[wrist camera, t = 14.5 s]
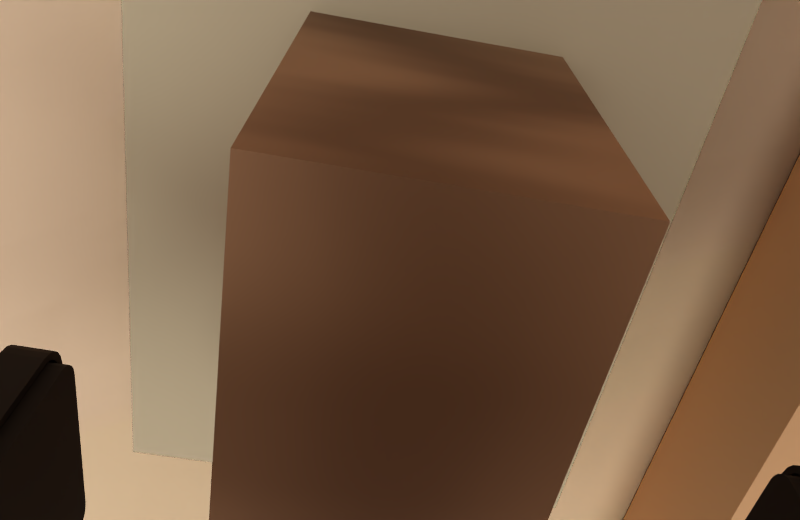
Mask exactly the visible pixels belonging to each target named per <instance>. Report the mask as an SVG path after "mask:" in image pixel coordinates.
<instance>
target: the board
mask: <svg viewBox="0 0 800 520" xmlns="http://www.w3.org/2000/svg"><path fill="white" fill-rule="evenodd" d="M761 2H762V0H121V11H122V49H123V87H124V126H125V164H126V202H127V240H128V278H129V317H130V355H131V393H132V431H133V452H137V453H144V454H152V455H159V456H167V457H174V458H182V459H189V460H197V461H204V462H213V444H214V427H215V409H216V392H217V375H218V357H219V340H220V322H221V305H222V287H223V270H224V253H225V235H226V218H227V200H228V183H229V165H230V148H231V146H232V145H233V143H234V141H235V139H236V138H237V136H238V134H239V133H240V131H241V129H242V128H243V126H244V124H245V122H246V121H247V119H248V117H249V116H250V114H251V112H252V110H253V109H254V107H255V105H256V104H257V102H258V100H259V98H260V97H261V95H262V93H263V92H264V90H265V88H266V86H267V85H268V83H269V81H270V80H271V78H272V76H273V75H274V73H275V71H276V69H277V68H278V66H279V64H280V63H281V61H282V59H283V57H284V56H285V54H286V52H287V51H288V49H289V47H290V45H291V44H292V42H293V40H294V39H295V37H296V35H297V34H298V32H299V30H300V28H301V27H302V25H303V23H304V22H305V20H306V18H307V16H308V15H309V13H310V11H312V12H318V13H323V14H329V15H334V16H340V17H345V18H351V19H356V20H362V21H367V22H373V23H378V24H384V25H389V26H395V27H400V28H406V29H411V30H417V31H422V32H428V33H433V34H439V35H444V36H450V37H455V38H461V39H466V40H471V41H477V42H482V43H488V44H493V45H499V46H504V47H510V48H515V49H521V50H526V51H532V52H537V53H543V54H548V55H554V56H559V57H563V58H564V60H565V61H566V63H567V64H568V66H569V67H570V69H571V71H572V72H573V74H574V75H575V77H576V78H577V80H578V81H579V83H580V84H581V86H582V87H583V89H584V90H585V92H586V93H587V95H588V97H589V98H590V100H591V101H592V103H593V104H594V106H595V107H596V109H597V110H598V112H599V113H600V115H601V116H602V118H603V119H604V121H605V123H606V124H607V126H608V127H609V129H610V130H611V132H612V133H613V135H614V136H615V138H616V139H617V141H618V142H619V144H620V145H621V147H622V148H623V150H624V152H625V153H626V155H627V156H628V158H629V159H630V161H631V162H632V164H633V165H634V167H635V168H636V170H637V171H638V173H639V174H640V176H641V178H642V179H643V181H644V182H645V184H646V185H647V187H648V188H649V190H650V191H651V193H652V194H653V196H654V197H655V199H656V200H657V202H658V204H659V205H660V207H661V208H662V210H663V211H664V213H665V214H666V216H667V217H668V219H669V220H670V223H669V226H668V228H667V231H666V233H665V236H664V238H663V240H662V243H661V245H660V248H659V250H658V253H657V255H656V257H655V260H654V262H653V265H652V267H651V270H650V272H649V274H648V277H647V279H646V282H645V284H644V287H643V289H642V292H641V294H640V296H639V299H638V301H637V304H636V306H635V309H634V311H633V313H632V316H631V318H630V321H629V323H628V326H627V328H626V330H625V333H624V335H623V338H622V340H621V343H620V345H619V348H618V350H617V352H616V355H615V357H614V360H613V362H612V365H611V367H610V369H609V372H608V374H607V377H606V379H605V382H604V384H603V386H602V389H601V391H600V394H599V396H598V399H597V401H596V403H595V406H594V408H593V411H592V413H591V416H590V418H589V421H588V423H587V425H586V428H585V430H584V433H583V435H582V438H581V440H580V442H579V445H578V447H577V450H576V452H575V455H574V457H573V459H572V462H571V464H570V467H569V469H568V472H567V474H566V477H565V479H564V481H563V484H562V486H561V489H560V491H559V494H558V496H557V498H556V501H555V503H554V506H553V508H555V507H556V505H557V503H558V500H559V498H560V495H561V493H562V490H563V488H564V485H565V483H566V480H567V478H568V476H569V473H570V471H571V468H572V466H573V463H574V461H575V458H576V456H577V454H578V451H579V449H580V446H581V444H582V441H583V439H584V436H585V434H586V431H587V429H588V427H589V424H590V422H591V419H592V417H593V414H594V412H595V409H596V407H597V404H598V402H599V400H600V397H601V395H602V392H603V390H604V387H605V385H606V382H607V380H608V377H609V375H610V373H611V370H612V368H613V365H614V363H615V360H616V358H617V355H618V353H619V351H620V348H621V346H622V343H623V341H624V338H625V336H626V333H627V331H628V328H629V326H630V324H631V321H632V319H633V316H634V314H635V311H636V309H637V306H638V304H639V301H640V299H641V297H642V294H643V292H644V289H645V287H646V284H647V282H648V279H649V277H650V274H651V272H652V270H653V267H654V265H655V262H656V260H657V257H658V255H659V252H660V250H661V248H662V245H663V243H664V240H665V238H666V235H667V233H668V230H669V228H670V225H671V223H672V221H673V218H674V216H675V213H676V211H677V208H678V206H679V203H680V201H681V198H682V196H683V194H684V191H685V189H686V186H687V184H688V181H689V179H690V176H691V174H692V171H693V169H694V167H695V164H696V162H697V159H698V157H699V154H700V152H701V149H702V147H703V145H704V142H705V140H706V137H707V135H708V132H709V130H710V127H711V125H712V122H713V120H714V118H715V115H716V113H717V110H718V108H719V105H720V103H721V100H722V98H723V95H724V93H725V91H726V88H727V86H728V83H729V81H730V78H731V76H732V73H733V71H734V68H735V66H736V64H737V61H738V59H739V56H740V54H741V51H742V49H743V46H744V44H745V42H746V39H747V37H748V34H749V32H750V29H751V27H752V24H753V22H754V19H755V17H756V15H757V12H758V10H759V7H760V5H761Z"/></svg>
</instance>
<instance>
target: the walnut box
mask: <svg viewBox="0 0 800 520" xmlns="http://www.w3.org/2000/svg"><path fill="white" fill-rule="evenodd" d="M669 223H670V220H669V219H668V217H667V216H666V214H665V213H664V211H663V210H662V208H661V207H660V205H659V204H658V202H657V200H656V199H655V197H654V196H653V194H652V193H651V191H650V190H649V188H648V187H647V185H646V184H645V182H644V181H643V179H642V178H641V176H640V174H639V173H638V171H637V170H636V168H635V167H634V165H633V164H632V162H631V161H630V159H629V158H628V156H627V155H626V153H625V152H624V150H623V148H622V147H621V145H620V144H619V142H618V141H617V139H616V138H615V136H614V135H613V133H612V132H611V130H610V129H609V127H608V126H607V124H606V123H605V121H604V119H603V118H602V116H601V115H600V113H599V112H598V110H597V109H596V107H595V106H594V104H593V103H592V101H591V100H590V98H589V97H588V95H587V93H586V92H585V90H584V89H583V87H582V86H581V84H580V83H579V81H578V80H577V78H576V77H575V75H574V74H573V72H572V71H571V69H570V67H569V66H568V64H567V63H566V61H565V60H564V58H563V57H559V56H554V55H548V54H543V53H537V52H532V51H526V50H521V49H515V48H510V47H504V46H499V45H493V44H488V43H482V42H477V41H471V40H466V39H461V38H455V37H450V36H444V35H439V34H433V33H428V32H422V31H417V30H411V29H406V28H400V27H395V26H389V25H384V24H378V23H373V22H367V21H362V20H356V19H351V18H345V17H340V16H334V15H329V14H323V13H318V12H312V11H310V13H309V15H308V16H307V18H306V20H305V22H304V23H303V25H302V27H301V28H300V30H299V32H298V34H297V35H296V37H295V39H294V40H293V42H292V44H291V45H290V47H289V49H288V51H287V52H286V54H285V56H284V57H283V59H282V61H281V63H280V64H279V66H278V68H277V69H276V71H275V73H274V75H273V76H272V78H271V80H270V81H269V83H268V85H267V86H266V88H265V90H264V92H263V93H262V95H261V97H260V98H259V100H258V102H257V104H256V105H255V107H254V109H253V110H252V112H251V114H250V116H249V117H248V119H247V121H246V122H245V124H244V126H243V128H242V129H241V131H240V133H239V134H238V136H237V138H236V139H235V141H234V143H233V145H232V146H231V148H230V165H229V183H228V200H227V218H226V235H225V253H224V270H223V287H222V305H221V322H220V340H219V357H218V375H217V392H216V409H215V427H214V444H213V462H212V479H211V497H210V514H209V520H548V518H549V515H550V513H551V511H552V508H553V506H554V503H555V501H556V498H557V496H558V494H559V491H560V489H561V486H562V484H563V481H564V479H565V477H566V474H567V472H568V469H569V467H570V464H571V462H572V459H573V457H574V455H575V452H576V450H577V447H578V445H579V442H580V440H581V438H582V435H583V433H584V430H585V428H586V425H587V423H588V421H589V418H590V416H591V413H592V411H593V408H594V406H595V403H596V401H597V399H598V396H599V394H600V391H601V389H602V386H603V384H604V382H605V379H606V377H607V374H608V372H609V369H610V367H611V365H612V362H613V360H614V357H615V355H616V352H617V350H618V348H619V345H620V343H621V340H622V338H623V335H624V333H625V330H626V328H627V326H628V323H629V321H630V318H631V316H632V313H633V311H634V309H635V306H636V304H637V301H638V299H639V296H640V294H641V292H642V289H643V287H644V284H645V282H646V279H647V277H648V274H649V272H650V270H651V267H652V265H653V262H654V260H655V257H656V255H657V253H658V250H659V248H660V245H661V243H662V240H663V238H664V236H665V233H666V231H667V228H668V226H669Z"/></svg>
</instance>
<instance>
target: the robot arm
mask: <svg viewBox="0 0 800 520" xmlns="http://www.w3.org/2000/svg"><path fill="white" fill-rule="evenodd" d="M84 514H85V491H84V480H83V468H82V456H81V445H80V433H79V421H78V410H77V398H76V386H75V374H74V369H73V367H72V366H70V365H65V364H62V360H61V356H60V355H59V353H58V352H55V351H50V350H43V349H36V348H30V347H23V346H17V345H10V346H7V347H6V348H5V349H4V350H3V351H1V353H0V520H83V518H84ZM745 520H800V466H799V465H792V466H789V467H787V468H786V469H785V470H784V471H783V473H782V474H776V475H774V476H773V477H772V478H771V479H770V481H769V483H768V484H767V486H766V487H765V489H764V491H763V492H762V494H761V495H760V497H759V499H758V500H757V502H756V503H755V505H754V506H753V508H752V510H751V511H750V513H749V514H748V516H747V518H746V519H745Z"/></svg>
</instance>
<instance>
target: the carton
mask: <svg viewBox="0 0 800 520" xmlns="http://www.w3.org/2000/svg"><path fill="white" fill-rule="evenodd" d="M792 465H799V466H800V155H799V157H798V159H797V162H796V164H795V166H794V168H793V170H792V172H791V174H790V176H789V178H788V180H787V182H786V184H785V186H784V188H783V190H782V193H781V195H780V197H779V199H778V201H777V203H776V205H775V207H774V209H773V211H772V213H771V215H770V217H769V219H768V221H767V224H766V226H765V228H764V230H763V232H762V234H761V236H760V238H759V240H758V242H757V244H756V246H755V248H754V250H753V252H752V255H751V257H750V259H749V261H748V263H747V265H746V267H745V269H744V271H743V273H742V275H741V277H740V279H739V281H738V283H737V286H736V288H735V290H734V292H733V294H732V296H731V298H730V300H729V302H728V304H727V306H726V308H725V310H724V312H723V314H722V317H721V319H720V321H719V323H718V325H717V327H716V329H715V331H714V333H713V335H712V337H711V339H710V341H709V343H708V346H707V348H706V350H705V352H704V354H703V356H702V358H701V360H700V362H699V364H698V366H697V368H696V370H695V372H694V374H693V377H692V379H691V381H690V383H689V385H688V387H687V389H686V391H685V393H684V395H683V397H682V399H681V401H680V403H679V405H678V408H677V410H676V412H675V414H674V416H673V418H672V420H671V422H670V424H669V426H668V428H667V430H666V432H665V434H664V436H663V439H662V441H661V443H660V445H659V447H658V449H657V451H656V453H655V455H654V457H653V459H652V461H651V463H650V465H649V467H648V470H647V472H646V474H645V476H644V478H643V480H642V482H641V484H640V486H639V488H638V490H637V492H636V494H635V496H634V499H633V501H632V503H631V505H630V507H629V509H628V511H627V513H626V515H625V517H624V519H623V520H745V519H746V518H747V516H748V514H749V513H750V511H751V510H752V508H753V506H754V505H755V503H756V502H757V500H758V499H759V497H760V495H761V494H762V492H763V491H764V489H765V487H766V486H767V484H768V483H769V481H770V479H771V478H772V477H773V476H774V475H776V474H782V473H783V471H784V470H785V469H786V468H787V467H789V466H792Z"/></svg>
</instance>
